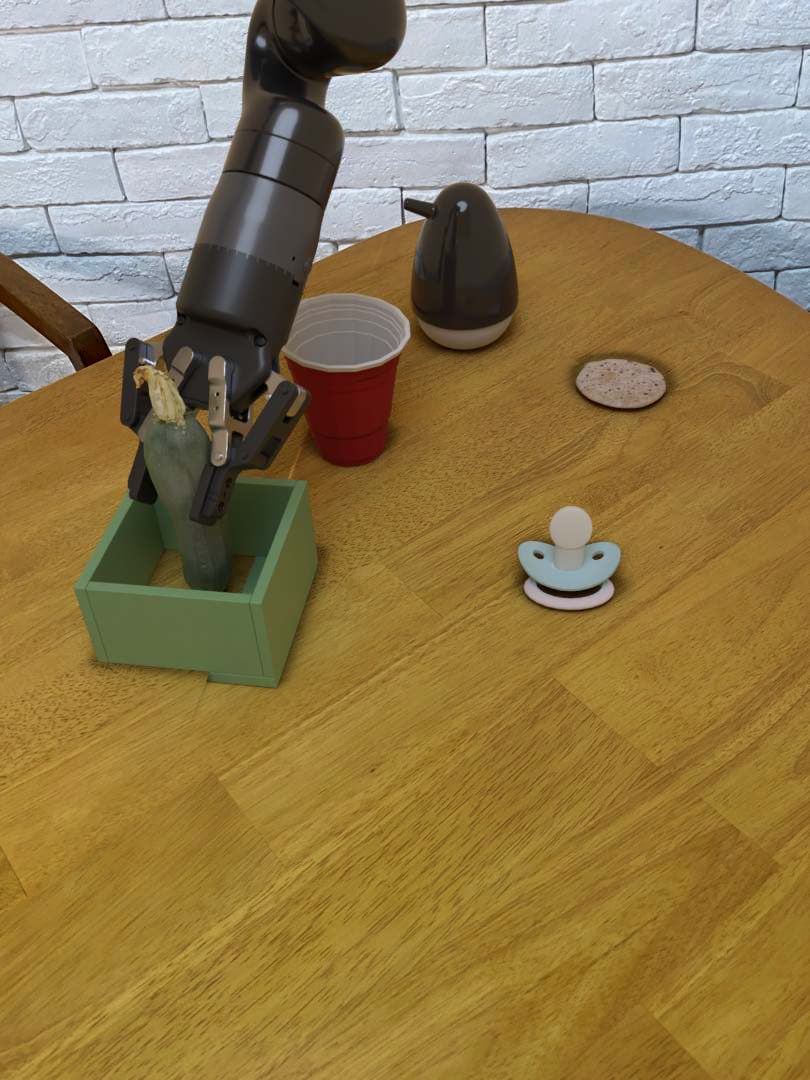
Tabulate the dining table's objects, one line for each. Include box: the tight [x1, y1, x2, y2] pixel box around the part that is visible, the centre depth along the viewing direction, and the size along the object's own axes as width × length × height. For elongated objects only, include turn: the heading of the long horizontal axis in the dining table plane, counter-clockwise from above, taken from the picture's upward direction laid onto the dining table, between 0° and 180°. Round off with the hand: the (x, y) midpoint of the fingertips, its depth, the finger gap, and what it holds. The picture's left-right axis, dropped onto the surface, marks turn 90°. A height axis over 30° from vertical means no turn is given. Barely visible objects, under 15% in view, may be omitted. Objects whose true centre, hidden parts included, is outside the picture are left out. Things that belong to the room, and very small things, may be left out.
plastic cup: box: [280, 292, 411, 468], centre depth 92 cm, size 11×11×12 cm
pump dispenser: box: [402, 181, 520, 350], centre depth 104 cm, size 10×10×15 cm
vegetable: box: [133, 365, 234, 592], centre depth 75 cm, size 4×4×20 cm
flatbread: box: [575, 358, 667, 409], centre depth 100 cm, size 8×8×1 cm
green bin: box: [73, 475, 319, 689], centre depth 79 cm, size 13×13×8 cm
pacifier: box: [517, 505, 622, 611], centre depth 80 cm, size 7×6×6 cm
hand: (171, 511), depth 73 cm, fingers closed on vegetable, 4 cm apart
